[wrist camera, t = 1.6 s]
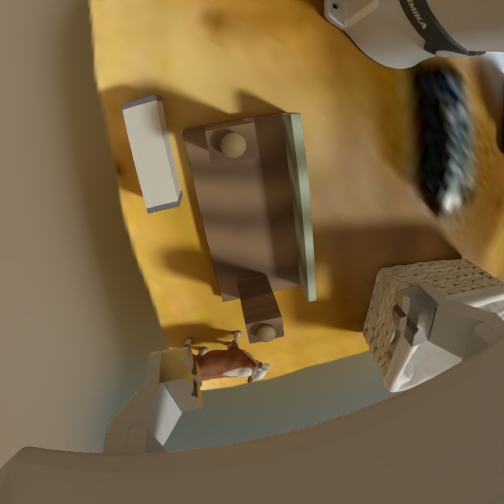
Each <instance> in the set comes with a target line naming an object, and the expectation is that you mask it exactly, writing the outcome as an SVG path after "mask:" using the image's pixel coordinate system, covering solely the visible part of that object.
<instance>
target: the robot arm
mask: <svg viewBox="0 0 504 504" xmlns="http://www.w3.org/2000/svg"><path fill="white" fill-rule="evenodd" d="M333 5H335V6H336V7H337V9H335V8H334V7H333ZM324 16H325V18H326V19H327V20H328V21H329V22H330V23H332V24H333V25H335V26H336V27H338V28H340V29H341V30H343V31H345V32H346V33H347V34H348V35H349V36H350V38H351V39H352V40H353V41H354V43H355V44H356V45H357V46H358V47H359V48H360V49H361V50H362V51H363V52H364V53H365V54H366V55H367V56H369V57H370V58H371V59H373V60H375V61H376V62H378V63H380V64H382V65H384V66H387V67H391V68H396V69H405V68H409V67H412V66H414V65H416V64H418V63H419V62H421V61H423V60H425V59H428V58H431V57H434V56H440V57H468V56H473V55H481V54H484V53H485V52H487V51H489V52H504V0H324ZM394 301H395V302H396V305H395V306H394V308H393V311H392V317H393V322H394V324H395V326H396V327H397V329H398V330H400V331H403V332H404V338H405V339H406V340H407V341H408V343H409V344H410V345H411V347H414V346H416V345H419V344H421V343H423V342H426V341H428V340H429V342H431V343H433V344H434V345H436V346H438V347H440V348H442V349H444V350H446V351H448V352H450V353H452V354H454V355H456V356H458V357H460V358H462V361H461V362H460V363H458V364H457V365H455V366H453V367H451V368H449V369H448V370H446V371H444V372H442V373H440V374H438V375H436V376H434V377H432V378H430V379H428V380H426V381H424V382H422V383H420V384H418V385H416V386H414V387H412V388H410V389H408V390H406V391H404V392H401V393H399V394H397V395H394V396H392V397H390V398H387V399H385V400H383V401H380V402H378V403H375V404H373V405H370V406H368V407H365V408H362V409H360V410H357V411H354V412H351V413H349V414H346V415H343V416H340V417H337V418H334V419H331V420H328V421H325V422H321V423H318V424H315V425H311V426H308V427H305V428H301V429H297V430H293V431H290V432H285V433H282V434H277V435H273V436H269V437H264V438H259V439H255V440H250V441H245V442H239V443H233V444H228V445H221V446H215V447H207V448H201V449H192V450H181V451H171V452H168V451H167V450H166V449H165V448H164V447H163V445H164V443H165V441H166V440H167V438H168V436H169V434H170V433H171V431H172V429H173V428H174V426H175V424H176V422H177V420H178V419H179V417H180V415H181V413H182V411H188V410H194V409H199V408H203V395H202V392H201V390H200V387H201V385H202V378H201V373H200V369H199V366H198V364H197V362H196V361H195V360H193V353H192V351H191V349H190V347H183V348H176V349H170V350H164V351H159V352H152V353H151V354H150V355H149V360H148V367H147V375H146V382H145V385H142V386H141V387H140V388H139V389H138V390H137V392H136V393H135V394H134V395H133V396H132V397H131V399H130V400H129V401H128V402H127V403H126V404H125V406H124V407H123V408H122V409H121V410H120V412H119V413H118V414H117V415H116V416H115V417H114V418H113V420H112V421H111V422H110V423H109V424H108V425H107V428H106V433H105V440H104V446H103V453H86V452H71V451H60V450H51V449H44V448H37V447H24V448H22V449H21V450H20V451H18V452H17V453H16V454H15V455H14V456H13V457H12V458H11V459H10V460H9V461H8V462H7V463H6V464H5V465H4V466H3V467H2V468H1V469H0V504H504V320H503V319H501V318H500V317H499V316H498V315H497V314H496V313H493V312H490V311H486V310H483V309H480V308H477V307H474V306H470V305H467V304H464V303H461V302H457V301H454V300H450V301H449V300H448V299H447V298H446V297H444V296H443V295H442V294H441V293H440V292H439V291H438V290H437V289H436V288H435V287H434V286H433V285H431V284H430V283H429V282H428V281H423V282H421V283H418V284H416V285H413V286H410V287H408V288H405V289H402V290H399V291H396V293H395V295H394Z"/></svg>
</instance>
